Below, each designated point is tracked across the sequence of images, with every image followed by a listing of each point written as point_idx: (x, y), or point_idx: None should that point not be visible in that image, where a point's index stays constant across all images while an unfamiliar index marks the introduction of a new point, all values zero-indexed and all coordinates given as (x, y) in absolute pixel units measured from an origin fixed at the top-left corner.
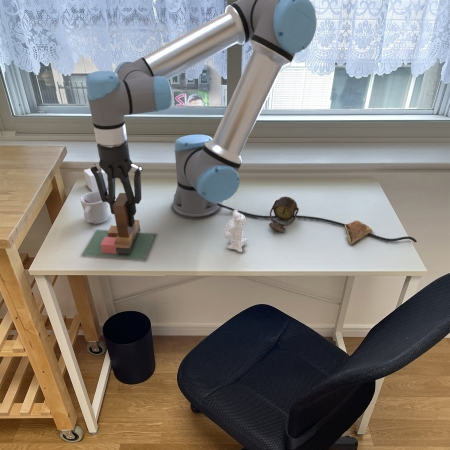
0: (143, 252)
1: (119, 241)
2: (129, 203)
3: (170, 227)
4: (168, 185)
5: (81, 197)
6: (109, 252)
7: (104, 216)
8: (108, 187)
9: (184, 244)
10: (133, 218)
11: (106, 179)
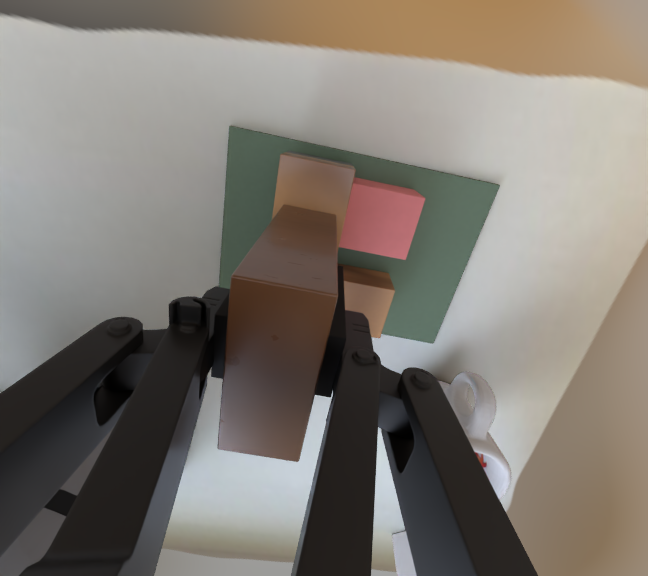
0: (241, 177)
1: (329, 171)
2: (201, 330)
3: None
4: (222, 528)
5: (505, 488)
6: (384, 184)
7: None
8: (369, 496)
9: (91, 228)
10: None
11: (400, 566)
